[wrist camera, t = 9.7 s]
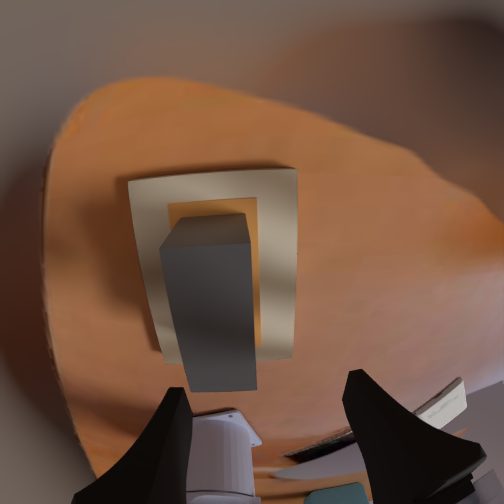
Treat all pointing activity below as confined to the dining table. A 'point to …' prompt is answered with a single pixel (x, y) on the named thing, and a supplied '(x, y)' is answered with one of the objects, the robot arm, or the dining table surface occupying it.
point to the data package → (339, 495)
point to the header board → (261, 236)
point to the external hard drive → (444, 405)
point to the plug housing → (212, 300)
